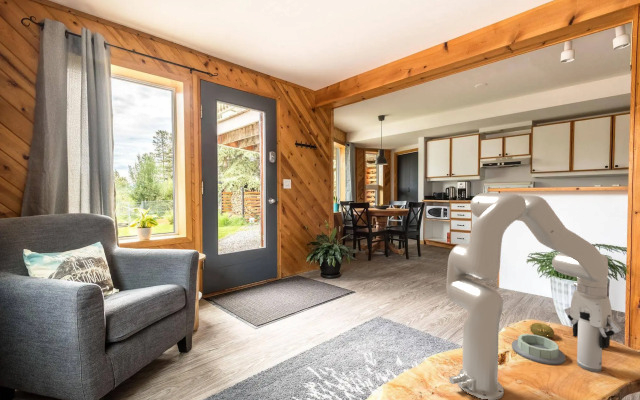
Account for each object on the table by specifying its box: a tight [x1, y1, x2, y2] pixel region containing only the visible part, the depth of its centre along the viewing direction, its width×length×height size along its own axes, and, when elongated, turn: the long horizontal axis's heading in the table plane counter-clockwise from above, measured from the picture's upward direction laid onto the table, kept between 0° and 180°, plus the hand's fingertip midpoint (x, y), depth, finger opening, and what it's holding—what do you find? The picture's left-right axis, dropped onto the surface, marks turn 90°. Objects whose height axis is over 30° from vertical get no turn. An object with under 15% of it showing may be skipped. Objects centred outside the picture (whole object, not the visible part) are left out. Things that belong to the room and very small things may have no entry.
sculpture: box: [529, 322, 555, 339], centre depth 126 cm, size 8×4×8 cm
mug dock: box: [511, 333, 566, 366], centre depth 112 cm, size 16×16×4 cm
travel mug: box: [576, 312, 603, 373], centre depth 103 cm, size 6×7×20 cm
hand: (590, 341), depth 103 cm, fingers open, 7 cm apart
